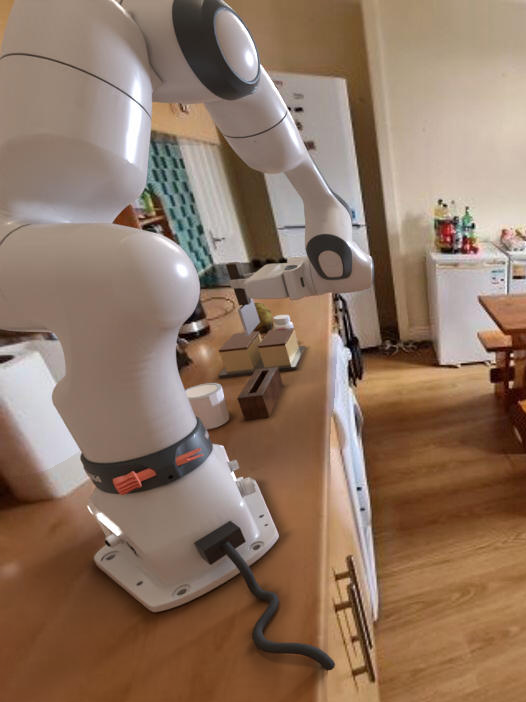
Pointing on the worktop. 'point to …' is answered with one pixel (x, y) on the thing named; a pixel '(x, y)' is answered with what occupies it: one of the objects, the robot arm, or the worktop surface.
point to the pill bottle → (282, 322)
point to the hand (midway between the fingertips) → (233, 281)
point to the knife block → (260, 393)
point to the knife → (243, 300)
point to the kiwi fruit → (263, 319)
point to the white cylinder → (208, 404)
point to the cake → (260, 352)
